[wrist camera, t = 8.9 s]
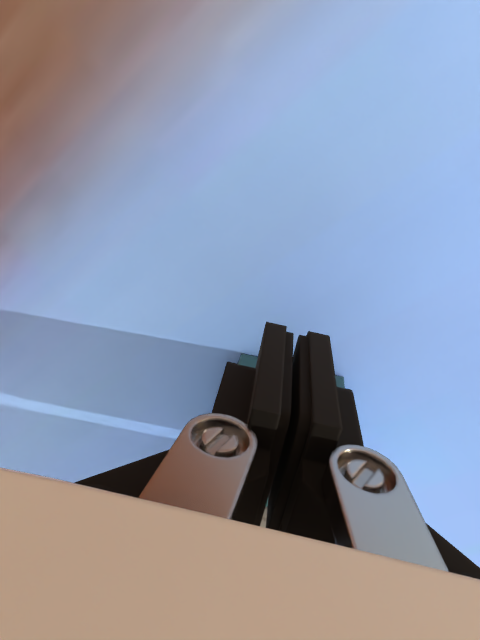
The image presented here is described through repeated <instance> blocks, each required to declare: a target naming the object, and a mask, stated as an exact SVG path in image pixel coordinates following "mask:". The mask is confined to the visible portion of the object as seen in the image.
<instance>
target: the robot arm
mask: <svg viewBox="0 0 480 640" xmlns="http://www.w3.org/2000/svg"><path fill="white" fill-rule="evenodd" d="M267 500H268V506H267V518H266V528H264V527H260V524H261V521H262V517H263V514H264V510H265V507H266V503H267ZM0 640H480V568H479V567H478V566H477V565H475V564H474V563H473V562H472V561H471V560H469V559H468V558H467V557H466V556H465V555H463V554H462V553H461V552H460V551H459V550H457V549H456V548H455V547H454V546H453V545H451V544H450V543H449V542H448V541H447V540H445V539H444V538H443V537H442V536H441V535H439V534H438V533H437V532H436V531H435V530H433V529H432V528H431V527H430V526H429V525H427V524H426V523H425V521H424V519H423V517H422V515H421V513H420V511H419V508H418V506H417V504H416V502H415V500H414V498H413V496H412V494H411V492H410V490H409V488H408V486H407V484H406V481H405V479H404V477H403V475H402V474H401V472H400V471H399V469H398V468H397V466H396V465H395V464H393V463H392V462H391V461H390V460H389V459H388V458H387V457H385V456H383V455H382V454H380V453H379V452H377V451H374V450H372V449H370V448H367V447H364V445H363V440H362V435H361V430H360V425H359V420H358V415H357V410H356V405H355V400H354V395H353V392H352V390H350V389H345V388H341V387H337V385H336V378H335V371H334V364H333V357H332V350H331V343H330V337H329V336H328V335H323V334H319V333H314V332H310V331H308V333H307V335H306V336H303V335H299V337H298V340H297V343H296V347H295V351H294V354H293V333H289V332H286V326H283V325H278V324H274V323H269V322H266V325H265V329H264V333H263V337H262V342H261V346H260V350H259V354H258V359H257V363H256V367H255V368H253V367H248V366H244V365H240V364H235V363H231V362H227V364H226V367H225V371H224V374H223V377H222V381H221V384H220V387H219V390H218V394H217V397H216V400H215V403H214V407H213V410H212V413H209V414H204V415H199V416H197V417H195V418H193V419H191V420H190V421H189V422H188V423H187V424H186V426H185V427H184V429H183V430H182V432H181V433H180V435H179V436H178V438H177V439H176V441H175V442H174V444H173V445H172V447H171V449H170V450H167V451H164V452H161V453H158V454H156V455H153V456H150V457H147V458H144V459H141V460H138V461H135V462H133V463H130V464H127V465H124V466H121V467H118V468H115V469H112V470H110V471H107V472H104V473H101V474H98V475H95V476H92V477H89V478H86V479H84V480H81V481H78V482H75V483H72V482H67V481H63V480H59V479H54V478H50V477H45V476H40V475H35V474H30V473H25V472H20V471H15V470H10V469H5V468H0Z"/></svg>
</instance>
